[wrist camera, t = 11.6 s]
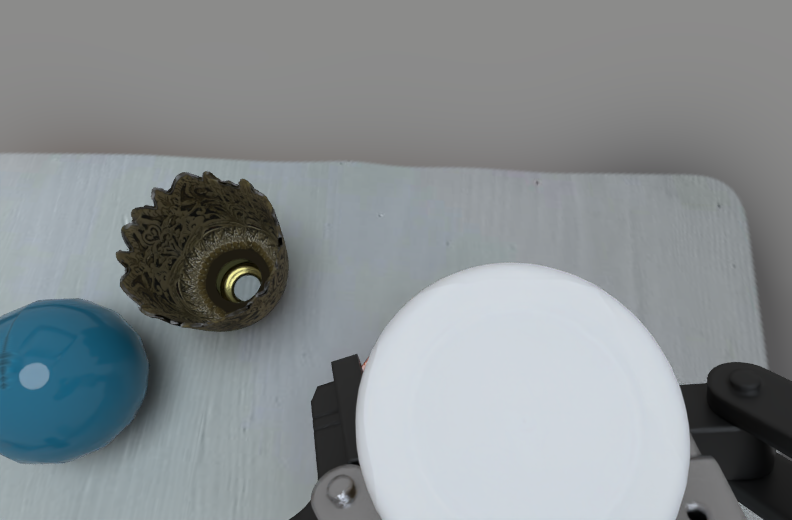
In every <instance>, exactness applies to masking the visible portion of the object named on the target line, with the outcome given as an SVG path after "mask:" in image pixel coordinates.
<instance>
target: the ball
mask: <svg viewBox="0 0 792 520" xmlns="http://www.w3.org/2000/svg"><path fill="white" fill-rule="evenodd" d="M149 367H150V365H149V361H148V358H147V355H146V351H145V348H144V345H143V341H142V339H141V337H140V336H139V334H138V333H137V332H136V331H135V330H134V329H133V328H132V327H131V326H130V325H129V324H128V322H127V321H126V320H125V319H124V318H123V317H122V316H121V315H120V314H118V313H117V312H115V311H113V310H110V309H108V308H105V307H103V306H100V305H98V304H95V303H93V302H90V301H88V300H83V299H79V298H76V299H47V300H38V301H36V302H33V303H31V304H28V305H26V306H23V307H21V308H18V309H16V310H14V311H11V312H9V313H7V314H4V315H2V316H1V317H0V455H3V456H5V457H7V458H9V459H11V460H14V461H16V462H18V463H21V464H53V463H67V462H70V461H74V460H76V459H78V458H81V457H83V456H85V455H87V454H90V453H92V452H94V451H96V450H99V449H101V448H103V447H105V446H106V445H108V444H109V443H110V442H111V441H112V440H113V439H114V438H116V437H117V436H118V435H119V434H120V433H121V432H122V431H123V430H124V429H125V428H126V427H127V426H128V425H129V424H130V423H131V422H132V421H133V420H134V418H135V416H136V414H137V412H138V410H139V408H140V406H141V404H142V402H143V400H144V398H145V396H146V394H147V385H148V376H149Z"/></svg>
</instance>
